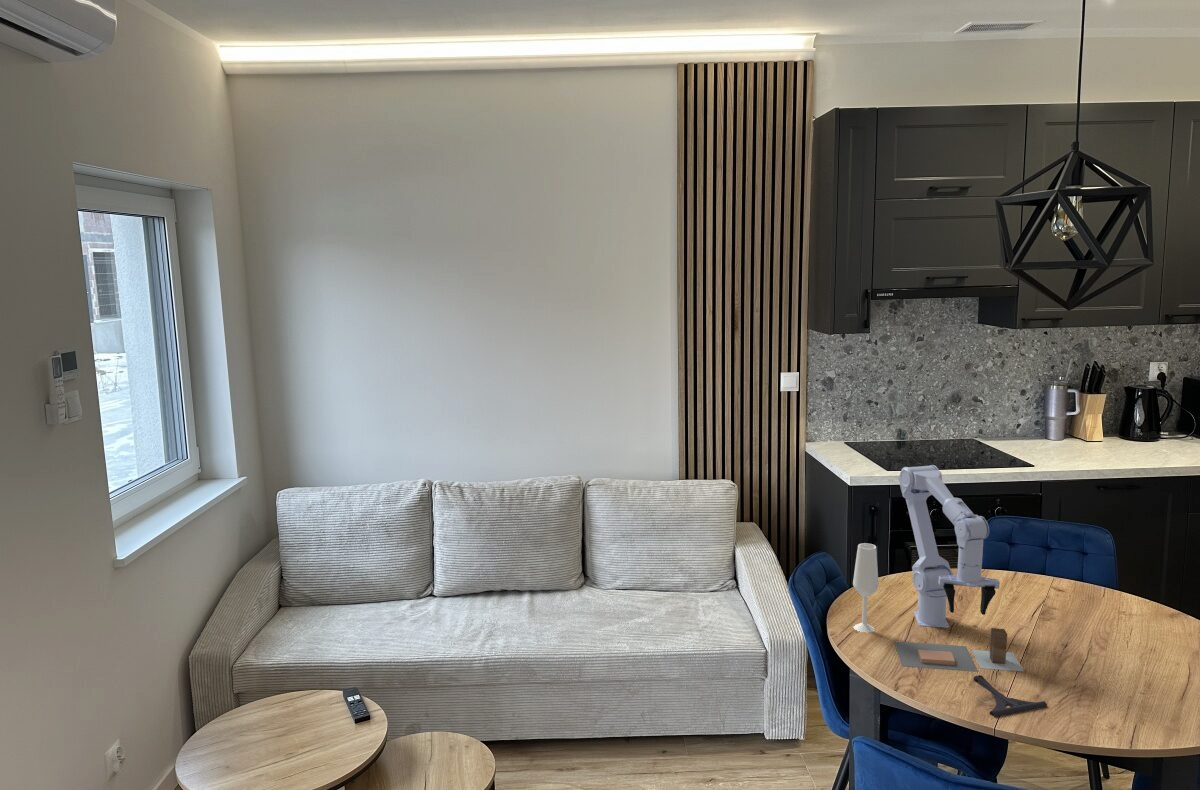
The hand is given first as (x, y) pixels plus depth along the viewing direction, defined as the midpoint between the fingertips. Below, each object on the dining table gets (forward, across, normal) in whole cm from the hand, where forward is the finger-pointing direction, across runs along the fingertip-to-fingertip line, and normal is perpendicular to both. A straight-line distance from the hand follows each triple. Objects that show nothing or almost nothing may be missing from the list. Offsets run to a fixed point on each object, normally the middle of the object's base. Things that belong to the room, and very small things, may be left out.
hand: (967, 612), depth 225 cm
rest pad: (+9, +6, -8) cm, 14 cm away
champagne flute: (+10, -25, +6) cm, 27 cm away
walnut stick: (+9, +6, -8) cm, 14 cm away
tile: (+8, -9, -8) cm, 14 cm away
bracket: (+10, +2, -26) cm, 28 cm away
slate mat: (+9, -9, -8) cm, 15 cm away
